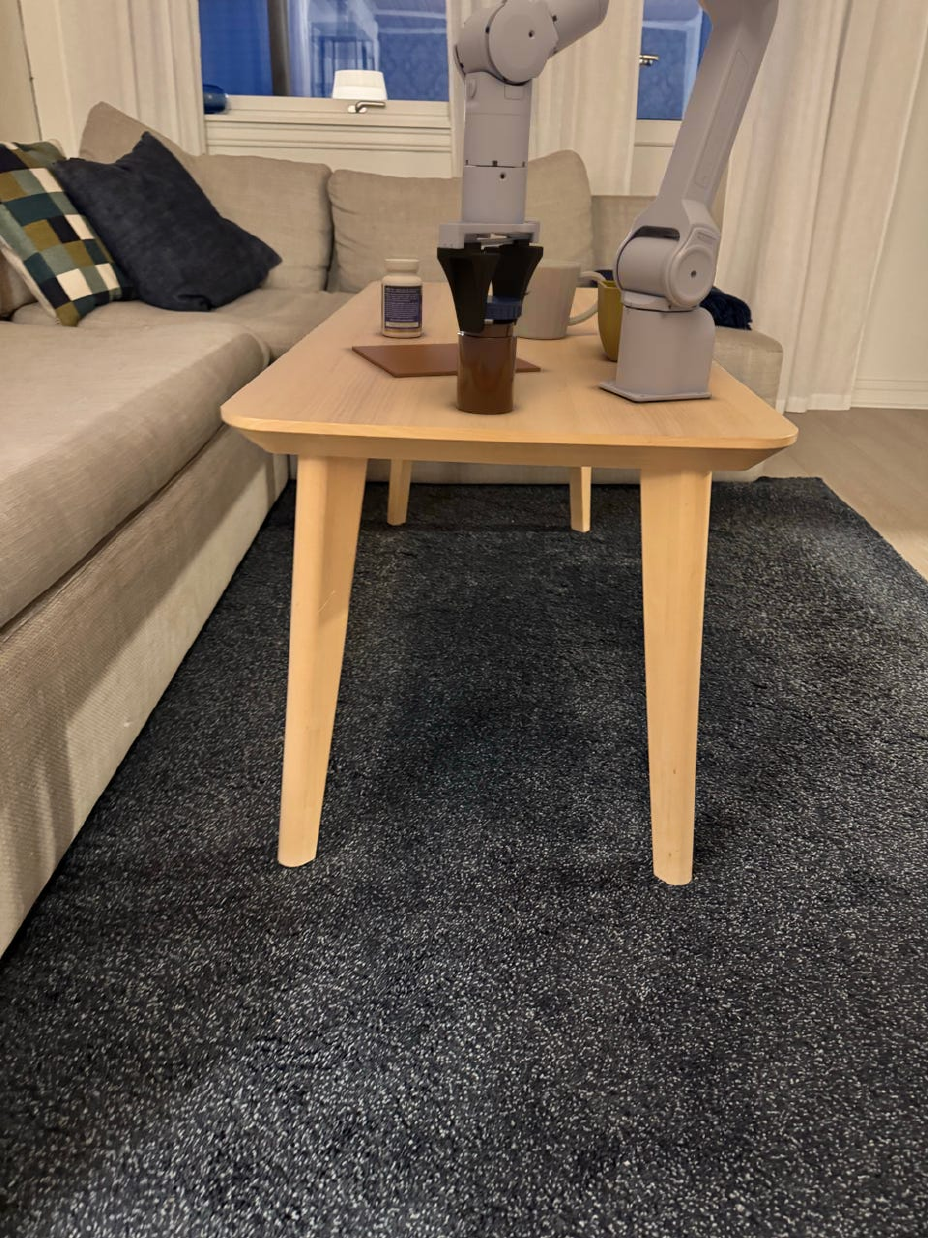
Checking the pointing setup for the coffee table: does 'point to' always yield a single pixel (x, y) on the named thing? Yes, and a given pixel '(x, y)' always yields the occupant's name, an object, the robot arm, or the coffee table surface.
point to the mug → (553, 300)
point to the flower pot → (610, 317)
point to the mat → (421, 359)
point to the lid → (503, 307)
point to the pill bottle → (401, 299)
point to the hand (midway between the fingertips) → (488, 328)
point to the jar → (487, 368)
